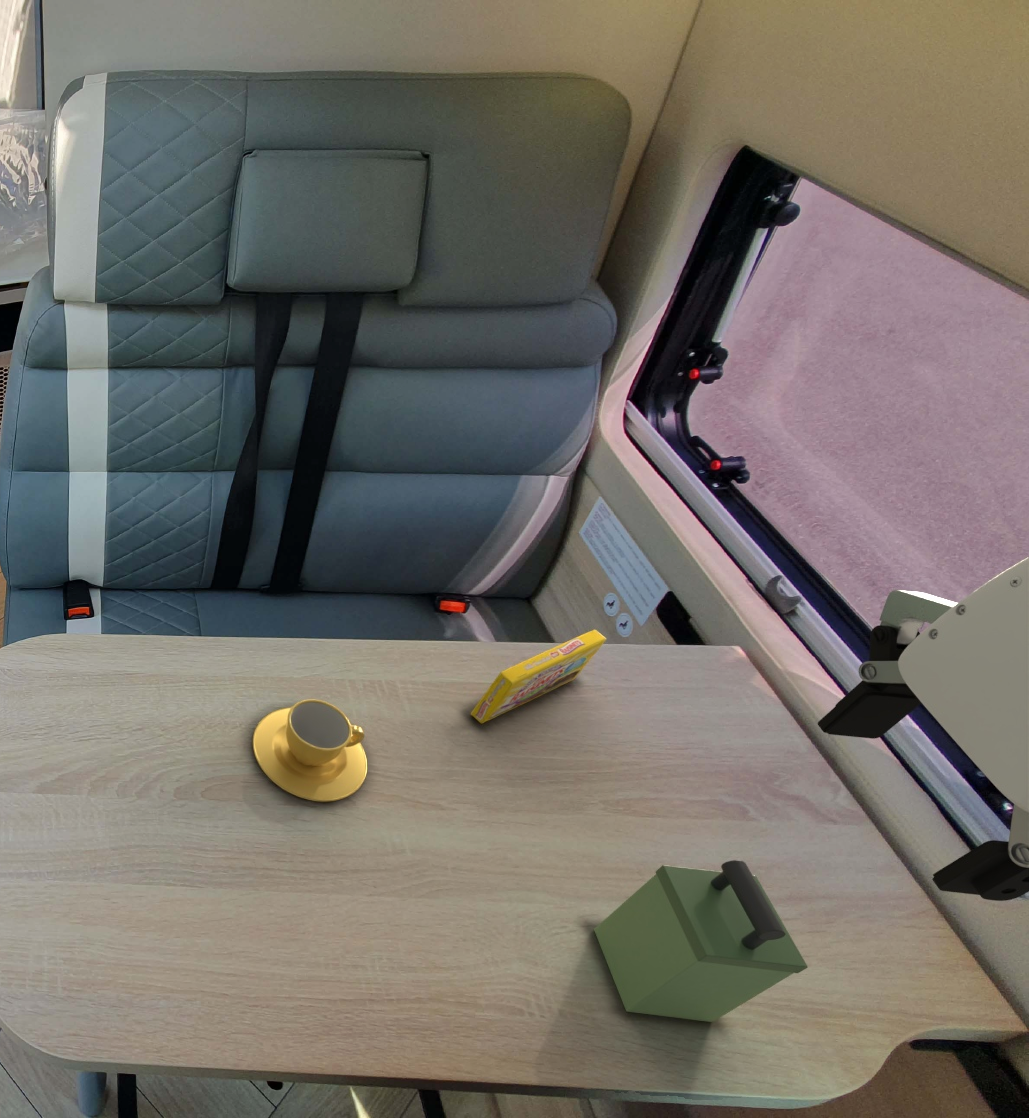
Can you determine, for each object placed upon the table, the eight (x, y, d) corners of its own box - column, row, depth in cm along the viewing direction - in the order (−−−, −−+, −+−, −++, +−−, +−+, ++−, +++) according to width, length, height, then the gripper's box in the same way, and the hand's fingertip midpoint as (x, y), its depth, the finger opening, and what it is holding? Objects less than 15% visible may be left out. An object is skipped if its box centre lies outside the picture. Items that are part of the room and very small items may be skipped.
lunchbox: (718, 1024, 68) (844, 949, 57) (625, 1012, 68) (733, 936, 58) (677, 937, 73) (786, 855, 63) (591, 927, 74) (685, 844, 63)
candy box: (483, 727, 90) (512, 683, 85) (468, 714, 91) (496, 669, 86) (576, 682, 95) (608, 637, 90) (561, 670, 96) (592, 625, 91)
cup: (265, 803, 82) (276, 774, 79) (242, 709, 91) (251, 678, 88) (381, 803, 83) (398, 774, 79) (346, 709, 92) (360, 679, 88)
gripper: (1581, 773, 27) (1108, 975, 38) (1121, 468, 39) (870, 688, 51) (1329, 749, 27) (938, 955, 39) (955, 456, 40) (745, 677, 51)
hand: (900, 803), depth 45 cm, fingers open, 9 cm apart
